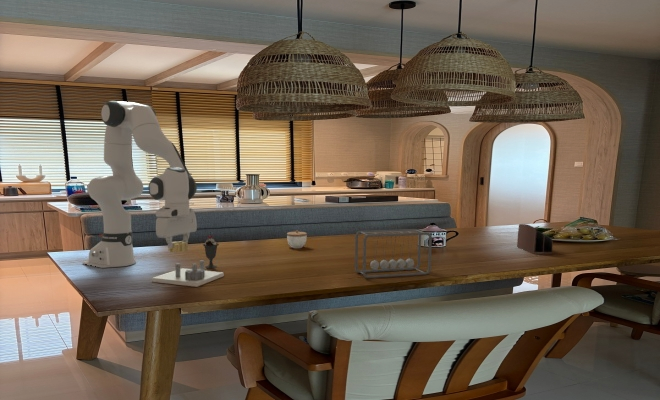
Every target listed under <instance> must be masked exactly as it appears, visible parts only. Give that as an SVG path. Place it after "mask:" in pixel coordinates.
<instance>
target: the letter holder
mask: <svg viewBox="0 0 660 400" xmlns="http://www.w3.org/2000/svg"><path fill="white" fill-rule="evenodd" d="M516 242H517V243H516V248H517V247H518V249H520V250H522V249H523V251H524V252H527V253H530V254H532V255H553V253H554V251H553V249H554V247H553V246H554V245H553V244H554V243H553V239H552V238H551V237H549V236H547V235H545V234H544V233H542V232H541V231H538V230H537V228H536V227H534V226H531V225H530V224H525V223H521V224H518V231H517V241H516Z"/></svg>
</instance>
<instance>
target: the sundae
mask: <svg viewBox="0 0 660 400" xmlns="http://www.w3.org/2000/svg"><path fill="white" fill-rule="evenodd" d="M209 233H210V235H209V236H208V238H207V239H206V241H205V242H204V243H203V244H202V246H203V247H204V250H205V252H204V253H205V257H206V258H207V259H208V260H209V264H208V265H205V269H216V268H217V266H216V265H214V264H213V259H215V258H216V255H217V250H218V249H217V248H218V246H220V245H219V242H216V241H215V239H214V238H213V235H212V234H211V233H212V232H209Z"/></svg>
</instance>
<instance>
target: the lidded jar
mask: <svg viewBox="0 0 660 400" xmlns="http://www.w3.org/2000/svg"><path fill="white" fill-rule="evenodd" d="M307 236H308V233H307V232H305V231H299V230H298V229H296V230H295V231H289V232H287V233H286V238H287V244H288V245H289V246H290V248H292V249H302V248H303V247H304V246H305V245H306V243H307Z"/></svg>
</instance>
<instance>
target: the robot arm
mask: <svg viewBox="0 0 660 400" xmlns="http://www.w3.org/2000/svg"><path fill="white" fill-rule="evenodd" d="M100 117H101V120H102V122H103V124H105V125H106V127H105V130H104V131H105V132H104V140H103V144H104V145H103V161H104V163H105V165H107V166H109V167H110V169H111V171H112V175H102V176H97V177H94V178H92V179H91V180H90V181H89V182H88V185H87V193H88V195H89V197H90V198H91V199H92V200H94V201H95V202H96V203H97V205H98V206H99V208H100V211H101V213H102V221H103V233H99V236H98V237H99V238H100V241H99V242H98V243H97V244H95V246H93V247H91V249H90V250H89V251H88V259H87V260H84V261H83V262H82V265H85V264H87V265H86V266H90V265H92V266H91V267H95V266H96V267H95V268H101V269H105V268H116V267H117V268H119V267H127V266H131V265H136V263H137V262H136V259H135V254H134V248H133V247H134V246H133V238H134V237H133V231H132V215H131V213H130V212H129V211H128V210H126V209H125V208H124V206H123V204H122V203H123V202H122V201H128V200H134V199H136V198H139V197H141V195H143V192H144V184H143V181H142V179H141V178H139V176H138V175H137V174H136V172H135V170H134V166H133V157H132V155H133V140H134V144H136V146H137V147H138V148H139V149H140V150H141V151H142V152H145V153H148V154H152V155H154V156H157V157H160V158H162V159H163V160H165V161H166V162H167V164H168V165H169V167H166V168H165V170H164V172H162V174H160V175H157V176H154V177H152V178H151V180H150V181H149V184H148V192H149V195H150V196H151V197H152V198H153V199H154V200H155V201H164V206H162V207H160V208H159V209H158V210H156V211H155V217H156V219H155V234H156V236H157V238H161V239H164V240H165V241H166V244H167V248H174V243H173V242H174V241H173V237H176V236H180V235H182V236H183V237H182V240H181V242H187V245H188V243H189V239H190V235H191V234H190V233H194V232H196V231H197V230H198V229H197V228H198V223H197V221H198V220H197V216H196V213H195V211H194V210H193V208H192V207H191V208H190V200H191V199H193V198H194V196H195V194H196V193H197V189H198V187H197V183H196V180H195V179H194V177H193V176H192V174H190V172H189V170H188V168H187V166H186V164H185V162H184V160H183V158H182V156H181V154H180V153H179V150H178V149H177V146H176V145H175V144H174V143H173V142H172V141H170V140H169V138H168V137H167V136H166V135H165V134H164V132H163V130H162V129H161V126H160V123H159V120H158V118H157V113H156V110H155V109H154V108H153V107H152V106H151V105H148V104H145V103H144V104H143V103H138V102H133V101H128V102H127V101H116V100H108V101H106V102H104V104H103V105H102V106H101V111H100Z"/></svg>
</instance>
